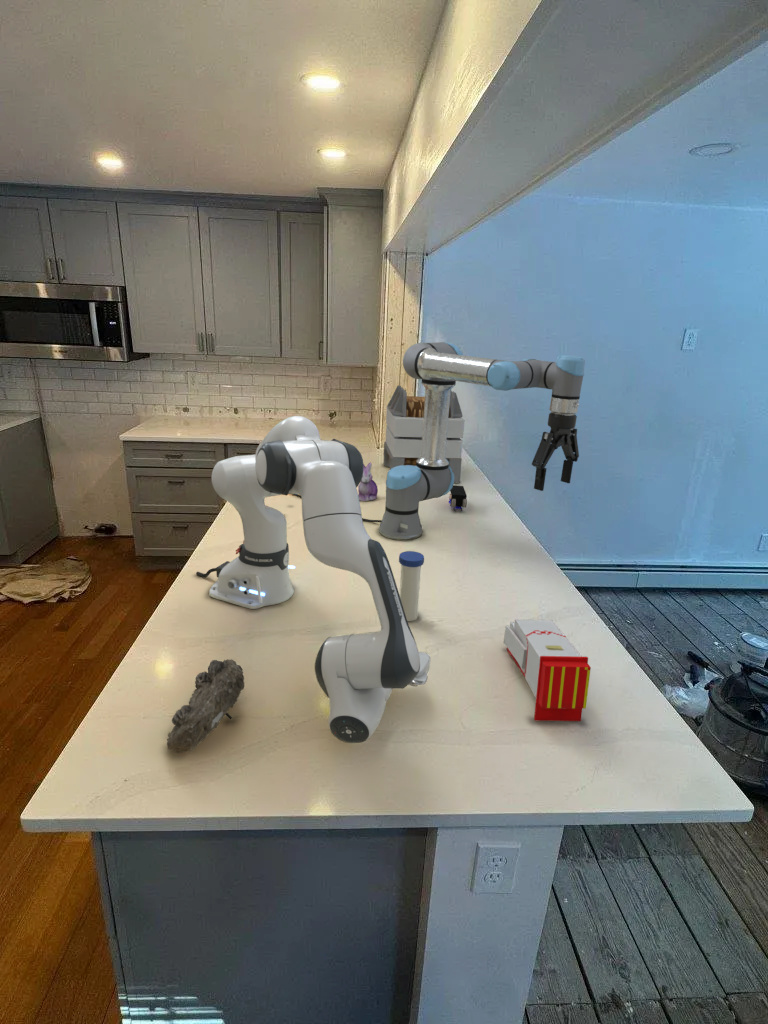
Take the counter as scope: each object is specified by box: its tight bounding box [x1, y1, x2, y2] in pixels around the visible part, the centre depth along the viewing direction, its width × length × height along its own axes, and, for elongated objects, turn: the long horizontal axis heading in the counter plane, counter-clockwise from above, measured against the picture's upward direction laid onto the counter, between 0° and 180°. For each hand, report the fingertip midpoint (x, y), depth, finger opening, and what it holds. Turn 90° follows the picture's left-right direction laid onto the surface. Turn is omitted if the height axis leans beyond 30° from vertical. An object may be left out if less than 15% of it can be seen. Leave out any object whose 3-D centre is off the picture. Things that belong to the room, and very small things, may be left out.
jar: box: [398, 564, 422, 622], centre depth 144 cm, size 5×5×17 cm
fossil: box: [166, 658, 245, 754], centre depth 106 cm, size 22×10×15 cm
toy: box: [503, 618, 592, 722], centre depth 122 cm, size 12×13×30 cm
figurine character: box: [448, 484, 468, 512], centre depth 228 cm, size 7×8×15 cm
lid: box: [398, 550, 425, 567], centre depth 141 cm, size 6×6×2 cm
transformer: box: [383, 384, 465, 484], centre depth 268 cm, size 34×33×41 cm
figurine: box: [357, 461, 379, 502], centre depth 233 cm, size 9×10×15 cm
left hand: (389, 640), depth 124 cm, fingers open, 8 cm apart
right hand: (552, 485), depth 166 cm, fingers open, 13 cm apart
